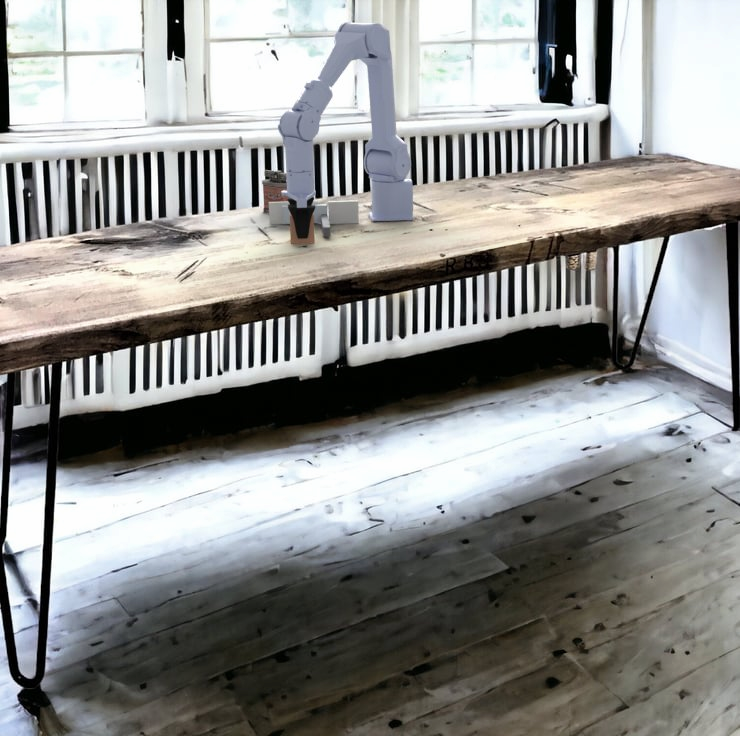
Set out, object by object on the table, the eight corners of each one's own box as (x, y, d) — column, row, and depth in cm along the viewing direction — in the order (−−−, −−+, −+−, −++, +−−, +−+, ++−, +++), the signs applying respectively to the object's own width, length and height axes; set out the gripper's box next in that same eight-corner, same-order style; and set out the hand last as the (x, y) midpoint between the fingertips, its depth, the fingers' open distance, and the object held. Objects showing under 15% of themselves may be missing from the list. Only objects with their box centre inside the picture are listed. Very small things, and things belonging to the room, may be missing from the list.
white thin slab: (358, 221, 235) (357, 199, 233) (358, 223, 233) (358, 201, 231) (269, 224, 233) (268, 202, 231) (269, 225, 231) (268, 203, 230)
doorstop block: (314, 238, 221) (313, 210, 218) (314, 243, 217) (313, 215, 215) (290, 239, 220) (289, 211, 218) (290, 244, 216) (289, 215, 214)
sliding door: (327, 221, 233) (326, 204, 232) (330, 236, 221) (329, 217, 219) (282, 223, 232) (282, 205, 231) (283, 237, 220) (282, 219, 218)
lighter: (296, 213, 242) (294, 171, 239) (287, 216, 240) (286, 173, 236) (269, 210, 247) (267, 168, 243) (260, 212, 244) (258, 170, 240)
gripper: (280, 164, 219) (283, 226, 224) (280, 177, 206) (283, 243, 211) (313, 163, 220) (315, 225, 225) (316, 176, 207) (318, 242, 211)
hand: (302, 234), depth 218 cm, fingers open, 6 cm apart
